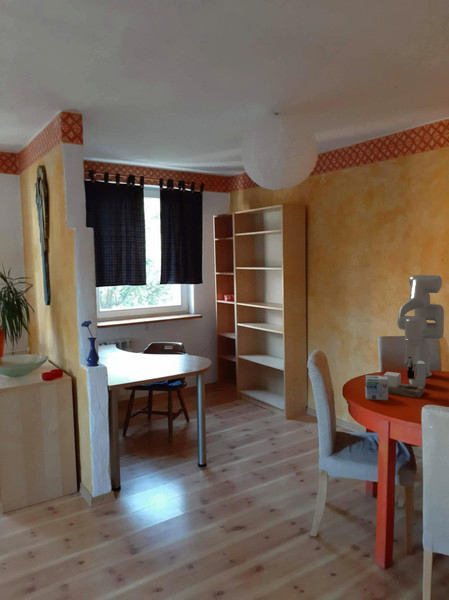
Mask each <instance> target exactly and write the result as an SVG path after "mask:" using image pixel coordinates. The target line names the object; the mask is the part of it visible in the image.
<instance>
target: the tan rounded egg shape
mask: <svg viewBox="0 0 449 600" xmlns="http://www.w3.org/2000/svg"><path fill="white" fill-rule="evenodd" d="M407 380H408V381H409V380H416V365H414V379H412V378H407Z"/></svg>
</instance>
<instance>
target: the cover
mask: <svg viewBox="0 0 449 600" xmlns="http://www.w3.org/2000/svg"><path fill="white" fill-rule="evenodd" d="M383 376H387V378H388V386H389V387H396V388H397V387H398V386H399V385H400V384H401V381H402V380H401V378H402V377H401V376H402V374H401V372H393V371H386V372H385V373H384V374H383Z"/></svg>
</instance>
